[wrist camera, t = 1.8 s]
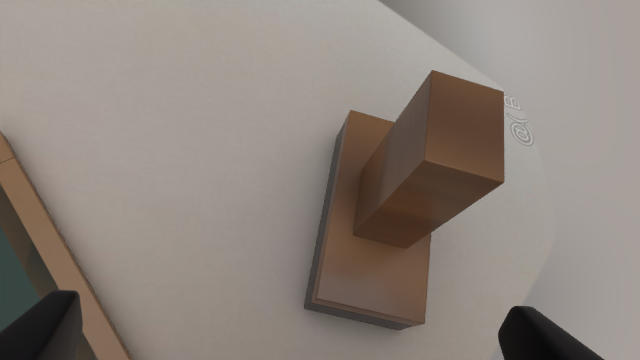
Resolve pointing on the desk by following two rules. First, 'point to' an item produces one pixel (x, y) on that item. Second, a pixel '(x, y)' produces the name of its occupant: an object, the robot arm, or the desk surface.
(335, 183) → the duster
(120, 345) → the board
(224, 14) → the desk surface
